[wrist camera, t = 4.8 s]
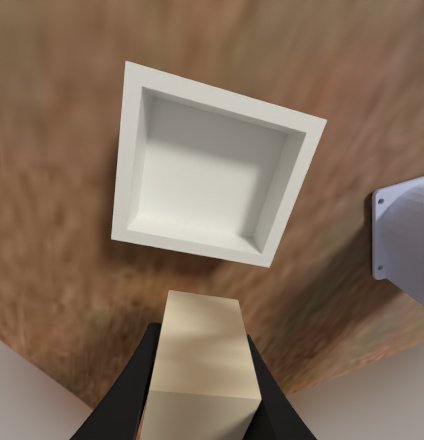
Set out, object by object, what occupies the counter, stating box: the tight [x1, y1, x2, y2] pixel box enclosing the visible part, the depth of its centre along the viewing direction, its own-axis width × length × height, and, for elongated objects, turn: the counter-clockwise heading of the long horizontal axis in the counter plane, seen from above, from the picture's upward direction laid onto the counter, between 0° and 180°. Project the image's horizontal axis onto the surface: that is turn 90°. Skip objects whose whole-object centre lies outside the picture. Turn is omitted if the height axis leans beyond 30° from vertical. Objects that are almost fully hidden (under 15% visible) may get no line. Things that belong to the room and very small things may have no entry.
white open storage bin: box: [111, 61, 327, 267], centre depth 14 cm, size 10×9×5 cm
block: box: [140, 290, 262, 440], centre depth 10 cm, size 4×4×5 cm
